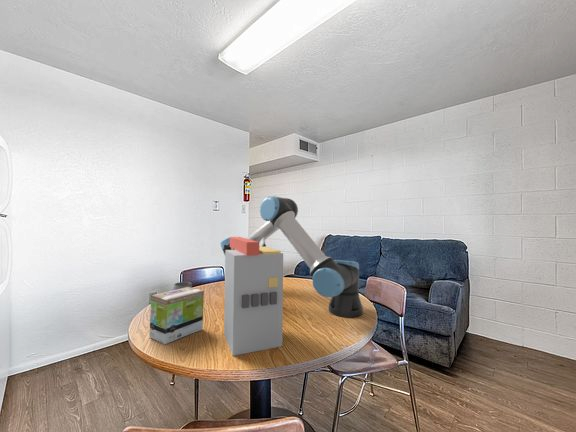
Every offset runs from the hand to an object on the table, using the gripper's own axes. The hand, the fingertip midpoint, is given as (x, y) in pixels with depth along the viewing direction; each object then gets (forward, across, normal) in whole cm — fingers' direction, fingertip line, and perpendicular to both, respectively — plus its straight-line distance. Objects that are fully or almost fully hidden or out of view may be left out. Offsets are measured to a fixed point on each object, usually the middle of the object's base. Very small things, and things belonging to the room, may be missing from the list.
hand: (249, 240), depth 115 cm
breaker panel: (+7, +6, -41) cm, 42 cm away
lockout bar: (+18, +8, -12) cm, 23 cm away
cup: (-35, +27, -18) cm, 47 cm away
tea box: (-6, +29, -34) cm, 45 cm away
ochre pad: (+22, +2, -15) cm, 27 cm away
